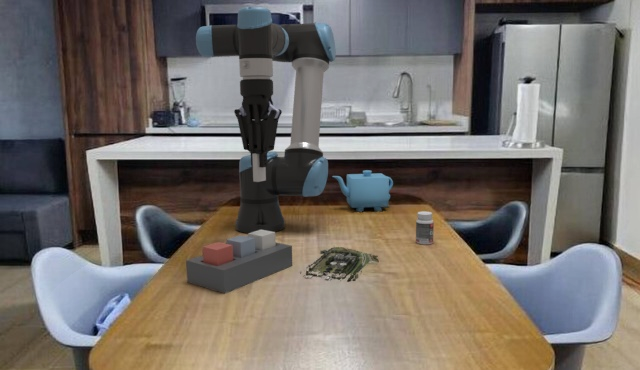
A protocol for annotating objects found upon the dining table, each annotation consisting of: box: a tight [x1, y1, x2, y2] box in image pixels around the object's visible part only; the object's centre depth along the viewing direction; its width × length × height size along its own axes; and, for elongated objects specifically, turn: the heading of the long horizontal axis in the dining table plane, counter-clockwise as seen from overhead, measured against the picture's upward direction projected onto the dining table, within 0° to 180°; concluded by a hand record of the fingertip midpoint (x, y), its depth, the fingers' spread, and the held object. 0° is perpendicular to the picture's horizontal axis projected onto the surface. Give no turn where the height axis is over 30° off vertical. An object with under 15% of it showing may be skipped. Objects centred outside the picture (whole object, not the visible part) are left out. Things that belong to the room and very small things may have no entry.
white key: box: [247, 230, 277, 250], centre depth 128 cm, size 5×5×4 cm
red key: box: [202, 241, 233, 266], centre depth 117 cm, size 5×5×4 cm
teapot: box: [331, 169, 394, 213], centre depth 190 cm, size 22×11×14 cm, turn 96°
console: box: [185, 242, 293, 294], centre depth 123 cm, size 12×22×5 cm, turn 143°
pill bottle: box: [415, 211, 435, 246], centre depth 146 cm, size 5×5×8 cm
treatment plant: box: [298, 246, 380, 282], centre depth 129 cm, size 25×18×4 cm
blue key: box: [225, 234, 255, 258], centre depth 123 cm, size 5×5×4 cm
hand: (259, 180), depth 126 cm, fingers closed
